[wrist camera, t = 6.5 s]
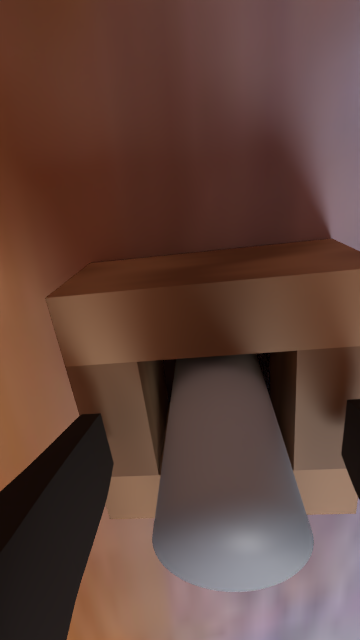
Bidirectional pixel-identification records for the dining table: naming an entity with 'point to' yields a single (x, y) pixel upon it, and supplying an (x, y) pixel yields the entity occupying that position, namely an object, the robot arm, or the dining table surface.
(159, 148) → the dining table surface
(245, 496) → the dowel
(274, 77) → the dining table surface
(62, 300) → the socket block
